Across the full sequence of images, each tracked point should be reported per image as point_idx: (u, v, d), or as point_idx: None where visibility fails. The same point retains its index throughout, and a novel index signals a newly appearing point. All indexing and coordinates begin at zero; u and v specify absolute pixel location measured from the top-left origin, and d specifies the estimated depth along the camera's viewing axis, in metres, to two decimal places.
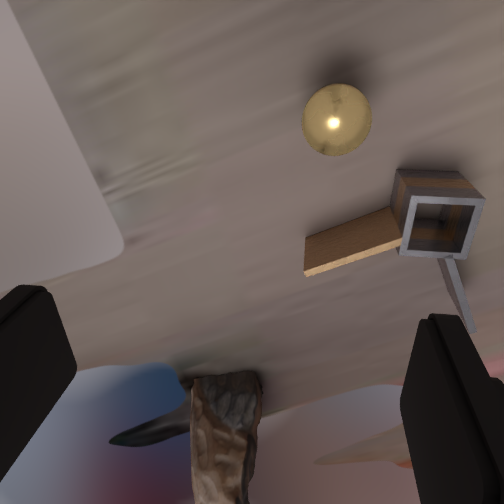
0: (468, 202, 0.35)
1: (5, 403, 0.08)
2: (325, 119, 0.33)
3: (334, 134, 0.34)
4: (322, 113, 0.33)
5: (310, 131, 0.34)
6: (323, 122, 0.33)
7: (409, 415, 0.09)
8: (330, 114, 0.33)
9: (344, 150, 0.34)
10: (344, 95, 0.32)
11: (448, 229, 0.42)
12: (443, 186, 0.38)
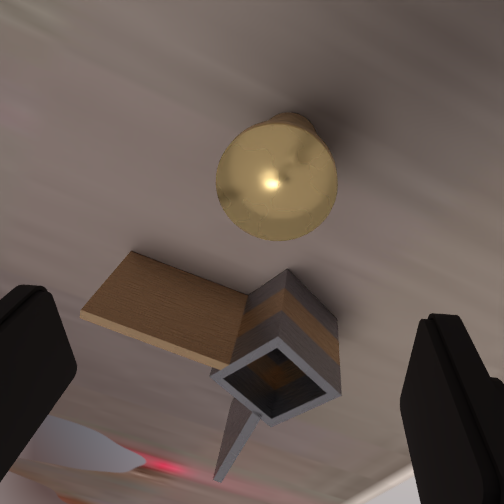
0: (323, 386, 0.26)
1: (5, 403, 0.08)
2: (265, 170, 0.18)
3: (258, 199, 0.19)
4: (268, 160, 0.18)
5: (231, 165, 0.18)
6: (259, 170, 0.18)
7: (409, 415, 0.09)
8: (276, 171, 0.18)
9: (252, 230, 0.20)
10: (315, 166, 0.18)
11: (280, 370, 0.32)
12: (315, 340, 0.28)
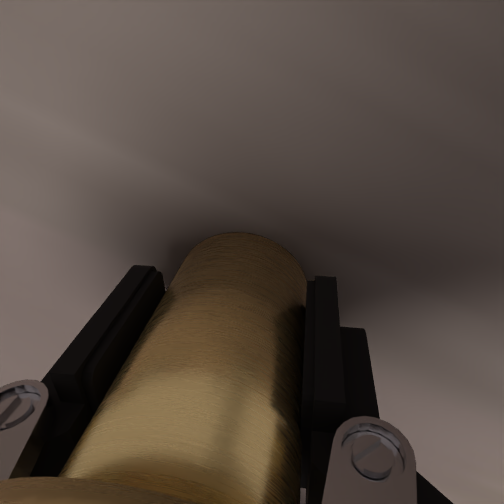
0: None
1: None
2: None
3: None
4: None
5: None
6: None
7: None
8: None
9: None
10: None
11: None
12: None
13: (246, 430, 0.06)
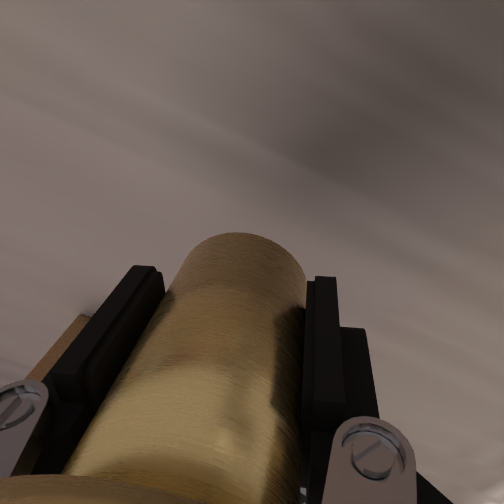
0: None
1: None
2: None
3: None
4: None
5: None
6: None
7: None
8: None
9: None
10: None
11: None
12: None
13: (247, 429, 0.06)
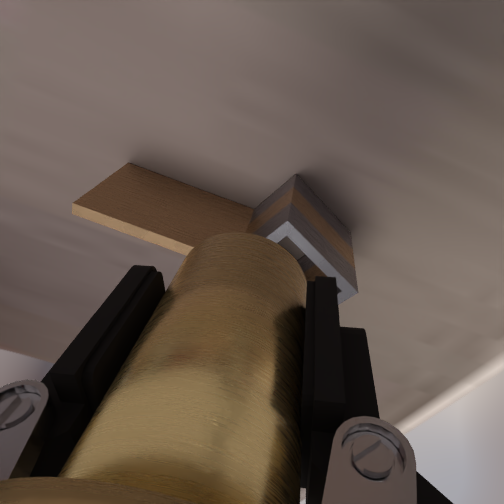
0: (338, 281, 0.24)
1: None
2: None
3: None
4: None
5: None
6: None
7: None
8: None
9: None
10: None
11: None
12: (327, 239, 0.25)
13: (246, 430, 0.06)
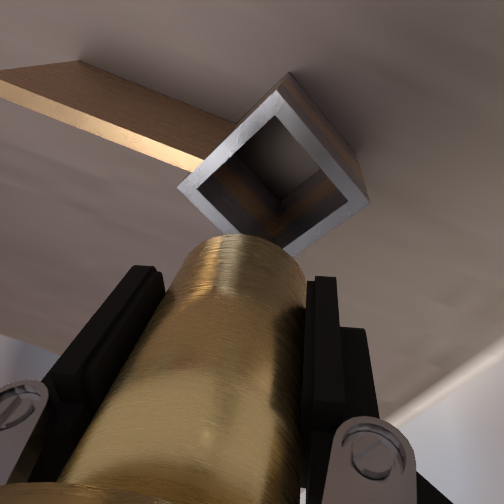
0: (344, 186, 0.17)
1: None
2: None
3: None
4: None
5: None
6: None
7: None
8: None
9: None
10: None
11: (280, 219, 0.24)
12: (329, 140, 0.19)
13: (246, 433, 0.06)
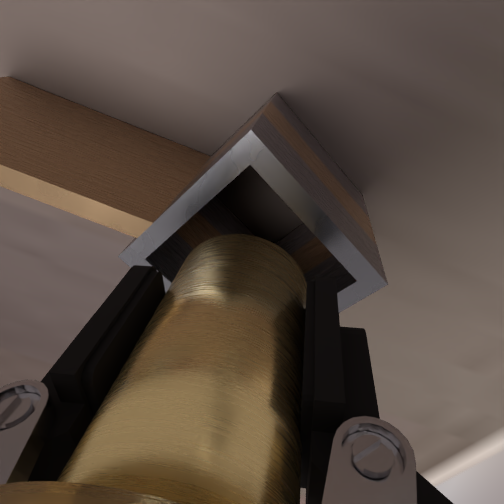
0: (351, 262, 0.12)
1: None
2: None
3: None
4: None
5: None
6: None
7: None
8: None
9: None
10: None
11: None
12: (329, 189, 0.14)
13: (246, 433, 0.06)
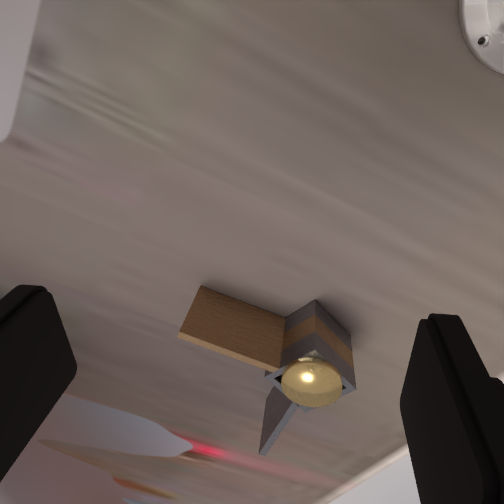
0: (344, 383, 0.38)
1: (5, 403, 0.08)
2: (306, 380, 0.37)
3: (302, 390, 0.38)
4: (308, 377, 0.37)
5: (289, 377, 0.37)
6: (303, 380, 0.37)
7: (409, 415, 0.09)
8: (312, 381, 0.37)
9: (298, 402, 0.39)
10: (331, 380, 0.37)
11: None
12: (337, 351, 0.40)
13: None
